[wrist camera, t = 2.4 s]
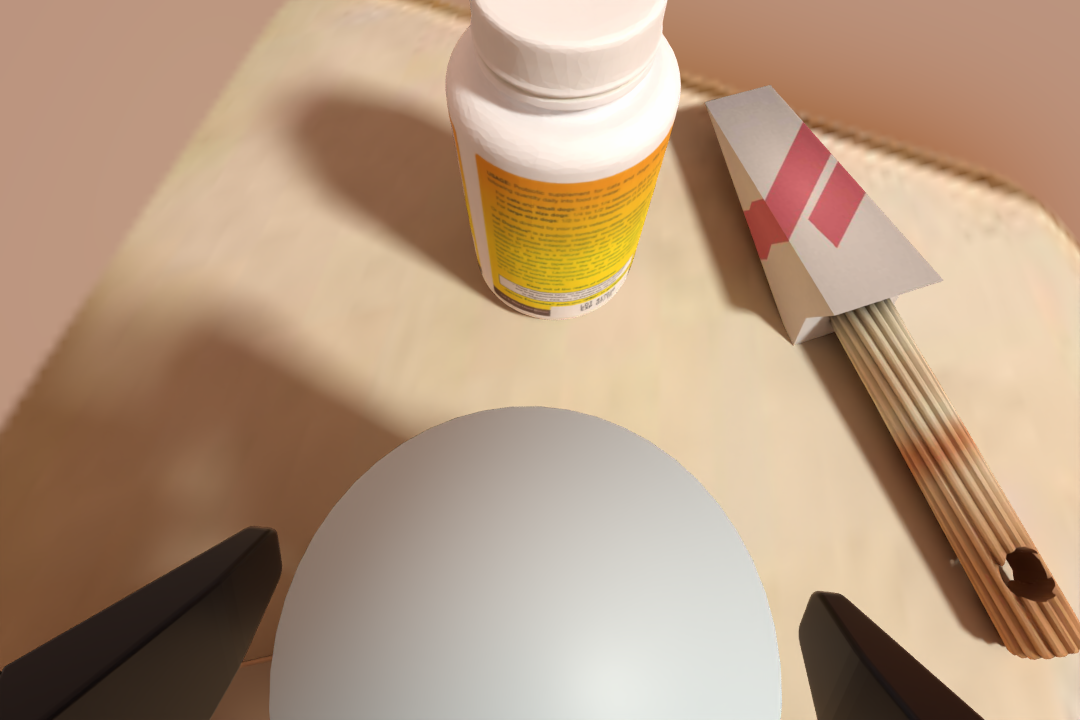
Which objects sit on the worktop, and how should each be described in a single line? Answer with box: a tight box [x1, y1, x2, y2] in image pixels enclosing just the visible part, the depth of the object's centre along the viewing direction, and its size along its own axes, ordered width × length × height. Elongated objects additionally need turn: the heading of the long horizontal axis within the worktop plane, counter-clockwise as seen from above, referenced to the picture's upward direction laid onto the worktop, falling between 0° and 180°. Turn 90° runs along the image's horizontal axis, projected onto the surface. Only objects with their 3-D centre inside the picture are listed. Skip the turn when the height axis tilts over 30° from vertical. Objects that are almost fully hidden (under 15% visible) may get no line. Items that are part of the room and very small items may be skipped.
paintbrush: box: [705, 85, 1080, 660], centre depth 18 cm, size 4×3×20 cm
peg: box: [269, 407, 782, 720], centre depth 10 cm, size 4×4×12 cm
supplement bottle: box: [446, 0, 681, 320], centre depth 15 cm, size 6×6×10 cm
